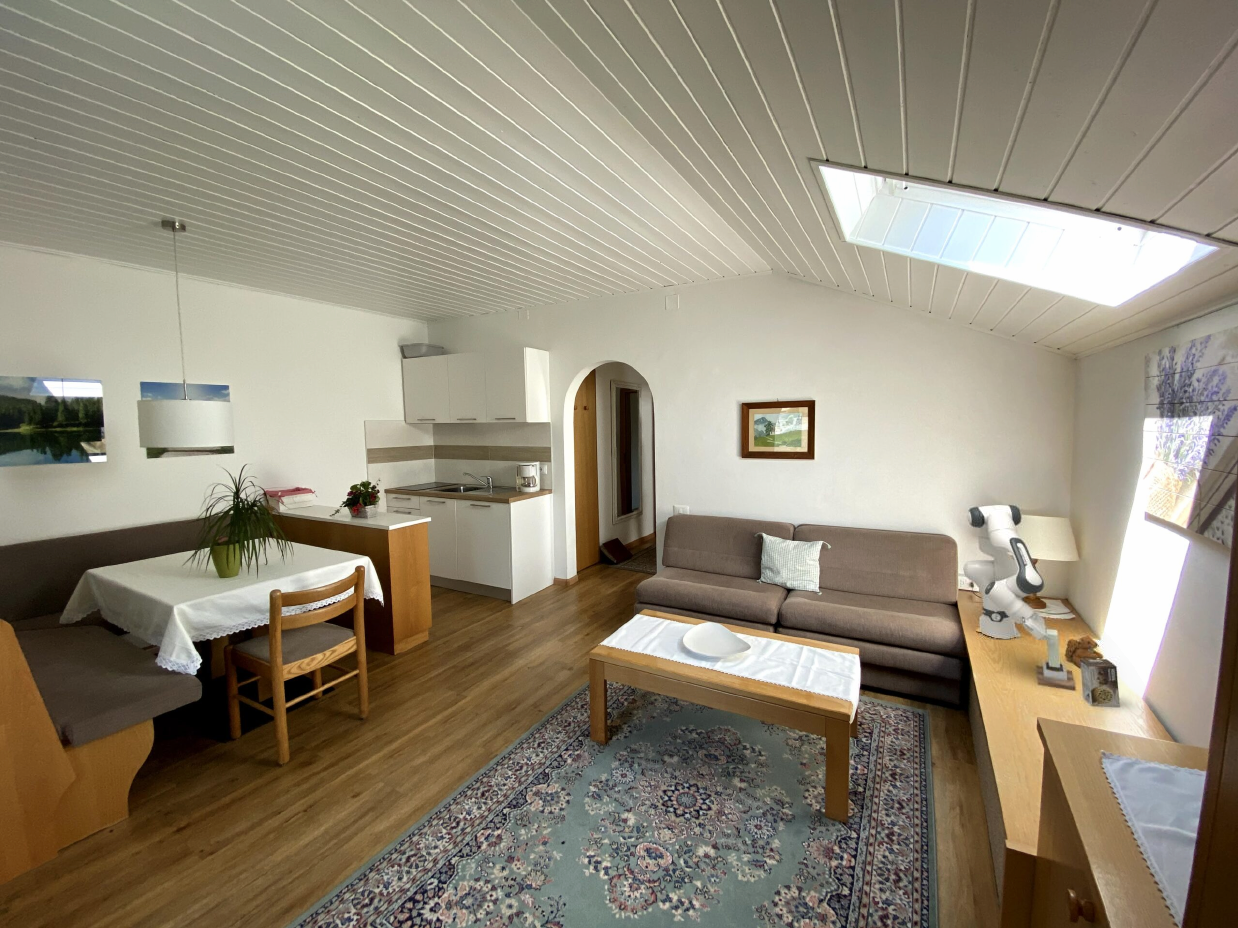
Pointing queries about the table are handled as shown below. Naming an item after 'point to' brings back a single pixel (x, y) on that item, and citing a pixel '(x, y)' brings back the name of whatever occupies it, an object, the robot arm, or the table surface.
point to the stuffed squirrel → (1082, 650)
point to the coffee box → (1099, 682)
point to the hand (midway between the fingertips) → (1052, 639)
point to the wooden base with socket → (1055, 676)
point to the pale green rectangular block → (1053, 649)
